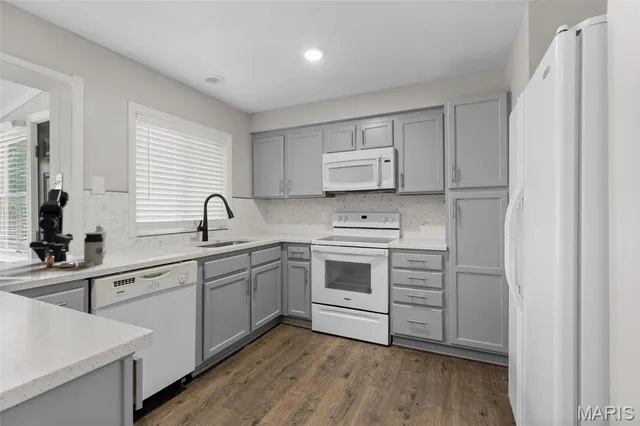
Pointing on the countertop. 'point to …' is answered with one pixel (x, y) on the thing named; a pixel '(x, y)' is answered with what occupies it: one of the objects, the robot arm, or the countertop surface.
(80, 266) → the stand
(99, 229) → the plastic bottle
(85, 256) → the travel mug
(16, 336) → the countertop surface
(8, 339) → the countertop surface
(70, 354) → the countertop surface
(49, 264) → the grey ball copper handle
